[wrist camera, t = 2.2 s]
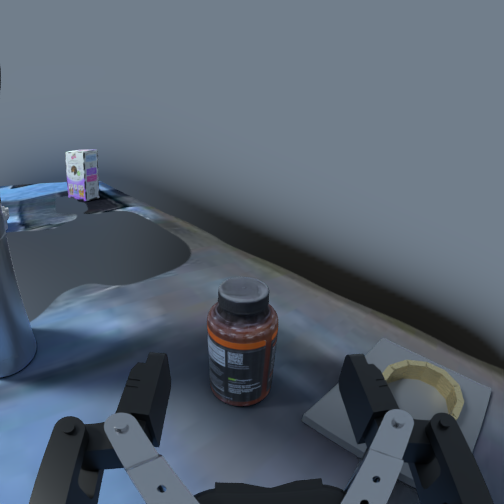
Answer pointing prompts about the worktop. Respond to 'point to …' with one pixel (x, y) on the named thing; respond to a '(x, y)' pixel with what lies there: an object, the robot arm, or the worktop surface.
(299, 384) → the worktop surface
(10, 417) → the worktop surface
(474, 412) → the grey square plate
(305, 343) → the worktop surface
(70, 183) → the candy box
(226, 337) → the supplement bottle
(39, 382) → the worktop surface
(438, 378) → the brass collar
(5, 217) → the flag stand
